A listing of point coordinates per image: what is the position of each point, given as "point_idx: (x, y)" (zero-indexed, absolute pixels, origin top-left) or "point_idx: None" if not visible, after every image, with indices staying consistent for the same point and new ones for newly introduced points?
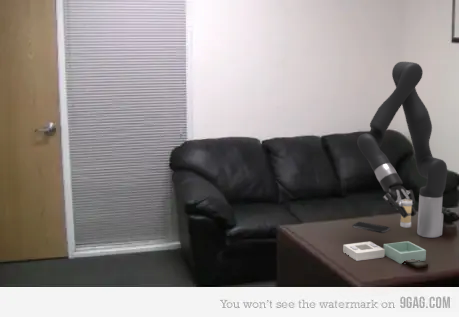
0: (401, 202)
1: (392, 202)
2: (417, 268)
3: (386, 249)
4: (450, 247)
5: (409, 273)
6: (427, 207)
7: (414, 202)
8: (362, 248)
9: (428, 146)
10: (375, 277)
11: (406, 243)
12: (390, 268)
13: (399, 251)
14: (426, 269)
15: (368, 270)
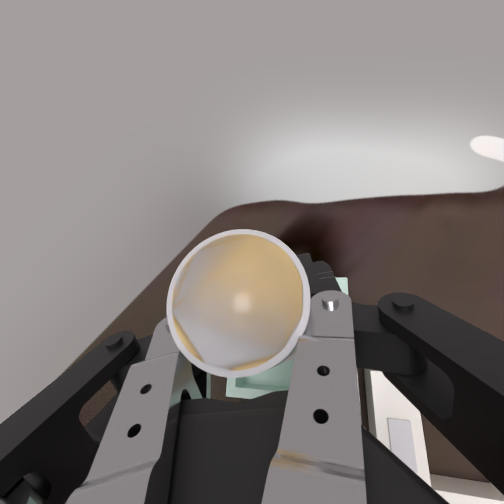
0: (306, 326)
1: (481, 340)
2: (310, 241)
3: None
4: None
5: (357, 217)
6: None
7: (124, 333)
8: (445, 482)
9: None
10: (489, 217)
11: (241, 387)
12: (397, 265)
13: (279, 384)
14: (290, 228)
15: (492, 274)
